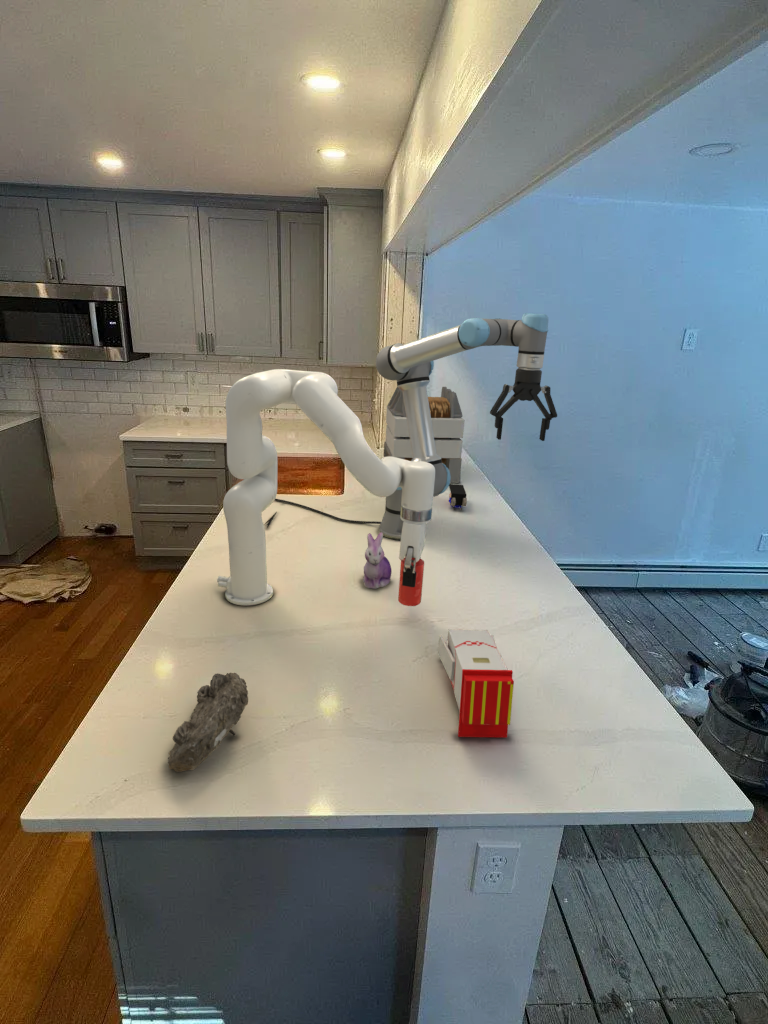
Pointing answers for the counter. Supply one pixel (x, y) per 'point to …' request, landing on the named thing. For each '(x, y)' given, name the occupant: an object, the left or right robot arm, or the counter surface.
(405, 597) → the can
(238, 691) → the fossil
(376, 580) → the figurine
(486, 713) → the toy
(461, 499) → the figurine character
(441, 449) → the grey wooden crate
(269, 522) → the feather
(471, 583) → the counter surface
